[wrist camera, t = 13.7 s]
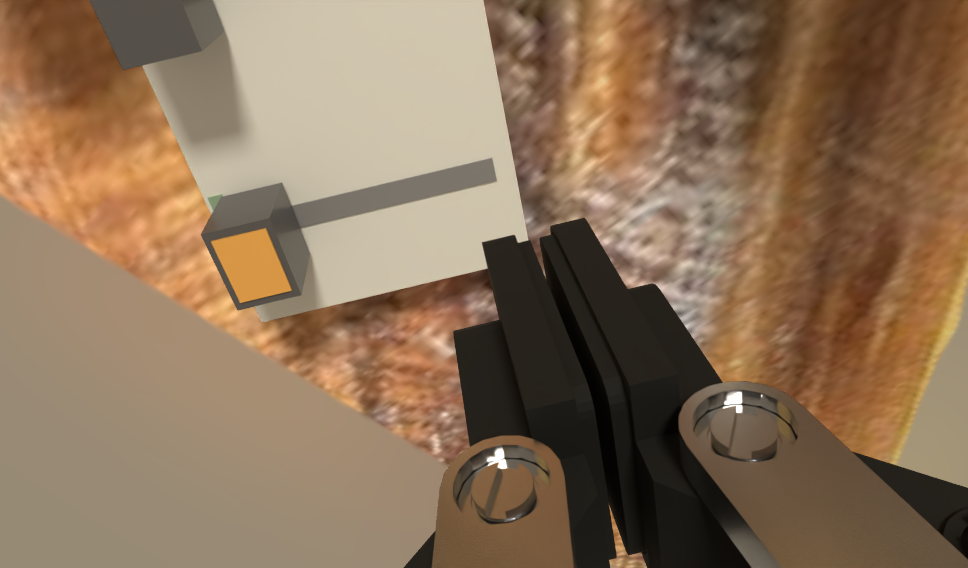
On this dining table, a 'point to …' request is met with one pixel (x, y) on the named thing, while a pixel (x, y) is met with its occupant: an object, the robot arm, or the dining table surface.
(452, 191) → the panel
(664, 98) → the dining table surface
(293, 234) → the block
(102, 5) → the breaker handle
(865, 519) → the robot arm
